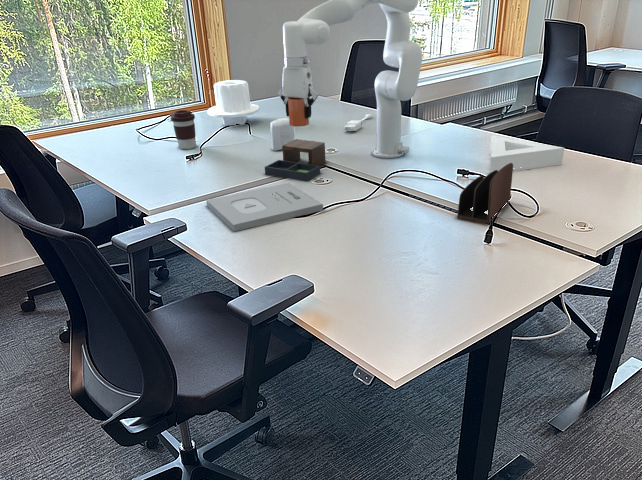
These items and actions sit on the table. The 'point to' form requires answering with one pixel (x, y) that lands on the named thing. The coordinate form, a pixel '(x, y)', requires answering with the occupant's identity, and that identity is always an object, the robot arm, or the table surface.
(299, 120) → the cup
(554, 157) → the triangle block
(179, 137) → the coffee cup
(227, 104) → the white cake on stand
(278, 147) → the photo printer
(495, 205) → the letter holder
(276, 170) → the divided tray
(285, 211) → the award plaque
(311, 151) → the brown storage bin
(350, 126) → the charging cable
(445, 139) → the table surface
